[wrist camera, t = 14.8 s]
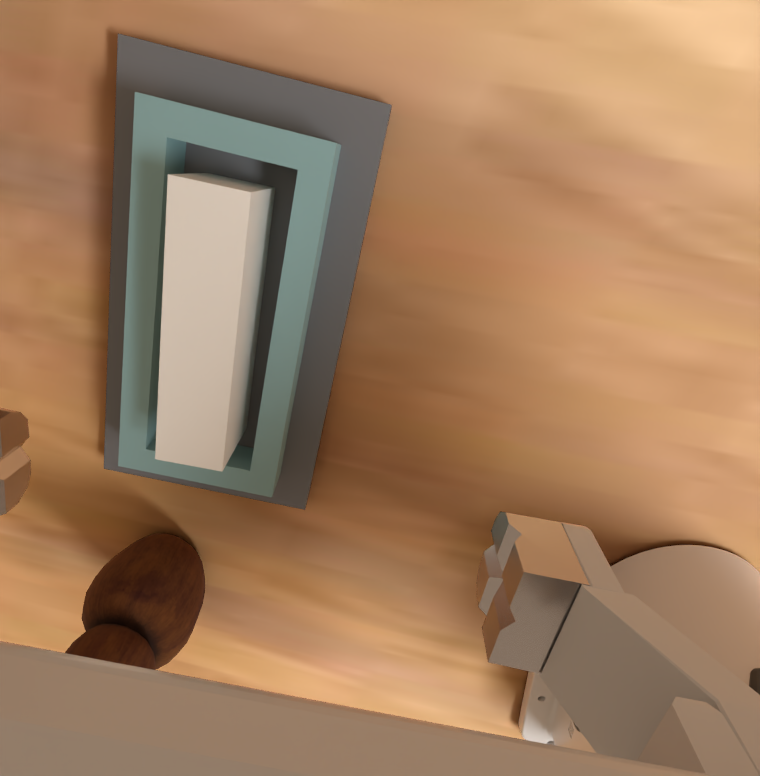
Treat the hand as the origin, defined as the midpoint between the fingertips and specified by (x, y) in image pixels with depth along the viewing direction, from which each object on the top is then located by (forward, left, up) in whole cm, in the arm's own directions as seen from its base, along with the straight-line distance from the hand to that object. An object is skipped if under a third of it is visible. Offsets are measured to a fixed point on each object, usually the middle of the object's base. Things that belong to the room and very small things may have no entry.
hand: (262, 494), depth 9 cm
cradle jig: (-4, +6, -22) cm, 23 cm away
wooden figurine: (-23, +8, -22) cm, 33 cm away
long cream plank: (-4, +6, -21) cm, 22 cm away
